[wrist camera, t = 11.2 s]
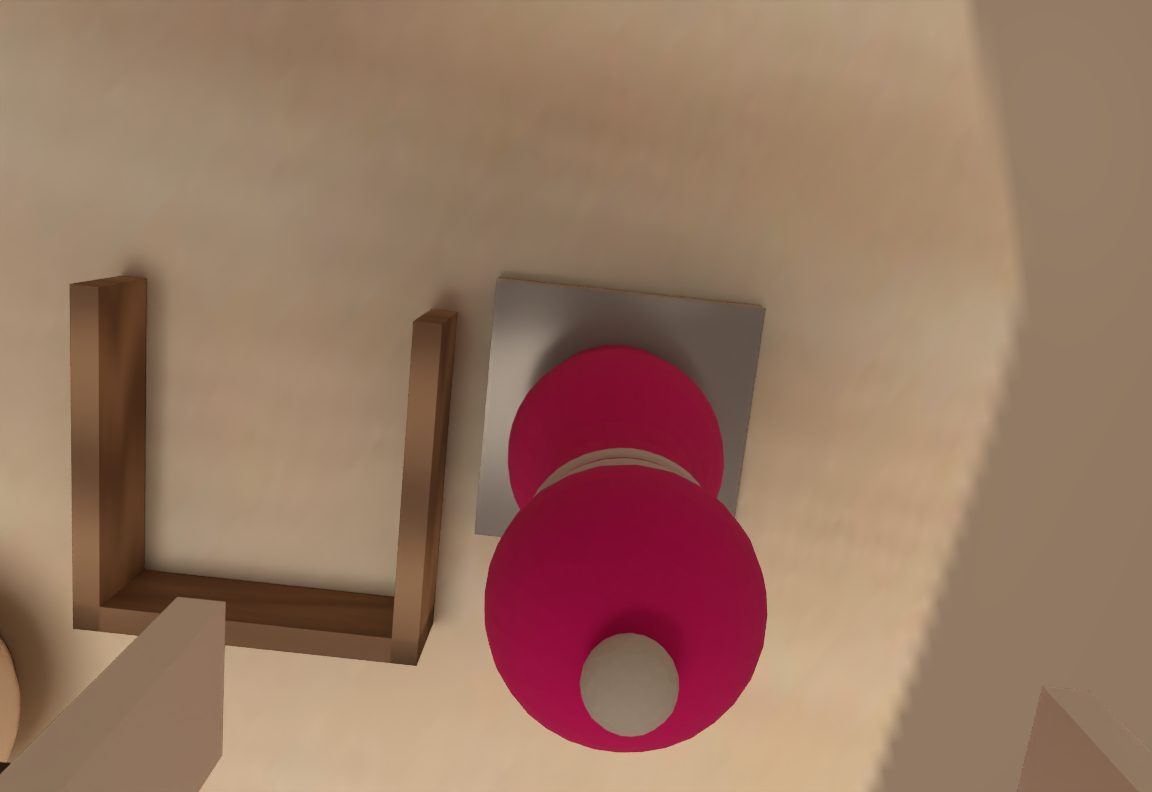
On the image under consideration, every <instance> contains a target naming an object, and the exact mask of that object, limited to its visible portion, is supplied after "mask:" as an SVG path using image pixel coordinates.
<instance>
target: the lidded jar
mask: <svg viewBox="0 0 1152 792" xmlns="http://www.w3.org/2000/svg"><path fill="white" fill-rule="evenodd" d="M19 717H20V691H19V684H18V681H17V677H16V674H15V667H14V663H13V660H12V656H11V654H10V652H9V650H8V648H7V646H6V644H5V643H4V641H3V639H2V638H1V636H0V762H6V763H7V760H8V758H9V756H10V754H11V751H12V748H13V745H14V742H15V739H16V735H17V731H18V727H19Z"/></svg>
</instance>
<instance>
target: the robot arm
mask: <svg viewBox="0 0 1152 792" xmlns="http://www.w3.org/2000/svg"><path fill="white" fill-rule="evenodd" d="M225 607H226V602H223V601H213V600H203V599H194V598H184V597H177V598H176V599H175V600H174V601H173V602H172V603H171V604H170V605H169V606H168V607H167V608H166V609H165V610H164V611H163V612H162V613H161V614H160V615H159V616H158V617H157V618H156V619H155V620H154V621H153V622H152V623H151V624H150V625H149V626H148V627H147V628H146V629H145V630H144V631H143V632H142V633H141V634H140V635H139V636H138V637H137V638H136V639H135V640H134V641H133V642H132V643H131V644H130V645H129V646H128V647H127V648H126V649H125V650H124V651H123V652H122V653H121V654H120V655H119V656H118V657H117V658H116V659H115V660H114V661H113V662H112V663H111V664H110V665H109V666H108V667H107V668H106V669H105V670H104V671H103V672H102V673H101V674H100V675H99V676H98V677H97V678H96V679H95V680H94V681H93V682H92V683H91V684H90V685H89V686H88V687H87V688H86V689H85V690H84V691H83V692H82V693H81V694H80V695H79V696H78V697H77V698H76V699H75V700H74V701H73V702H72V703H71V704H70V705H69V706H68V707H67V708H66V709H65V710H64V711H63V712H62V713H61V714H60V715H59V716H58V717H57V718H56V719H55V720H54V721H53V722H52V723H51V724H50V725H49V726H48V727H47V728H46V729H45V730H44V731H43V732H42V733H41V734H40V735H39V736H38V737H37V738H36V739H35V740H34V741H33V742H32V743H31V744H30V745H29V746H28V747H27V748H26V749H25V750H24V751H23V752H22V753H21V754H20V755H19V756H18V757H17V758H16V759H15V760H14V761H13V762H12V763H6V762H0V792H199V790H200V789H201V787H202V786H203V784H204V783H205V781H206V779H207V778H208V776H209V775H210V773H211V772H212V770H213V769H214V767H215V765H216V764H217V762H218V761H219V759H220V758H221V756H222V741H223V696H224V652H225ZM1017 792H1152V753H1151V752H1150V751H1149V750H1148V749H1147V748H1146V747H1145V746H1144V745H1143V744H1142V743H1141V742H1140V741H1139V740H1138V739H1137V738H1136V737H1135V736H1134V735H1133V734H1132V733H1131V732H1130V731H1129V730H1128V729H1127V728H1126V727H1125V726H1124V725H1123V724H1122V723H1121V722H1120V721H1119V720H1118V719H1117V718H1116V717H1115V716H1114V715H1113V713H1111V711H1109V709H1108V708H1107V707H1106V706H1105V705H1104V704H1103V703H1102V702H1101V701H1100V700H1098V698H1097V697H1096V696H1095V695H1094V694H1093V693H1092V692H1091V691H1089V690H1081V689H1070V688H1060V687H1051V686H1042V689H1041V693H1040V698H1039V702H1038V706H1037V710H1036V714H1035V718H1034V723H1033V727H1032V731H1031V735H1030V740H1029V743H1028V748H1027V752H1026V756H1025V760H1024V764H1023V768H1022V773H1021V777H1020V781H1019V785H1018V789H1017Z"/></svg>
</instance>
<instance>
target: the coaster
mask: <svg viewBox="0 0 1152 792" xmlns="http://www.w3.org/2000/svg"><path fill="white" fill-rule="evenodd" d="M764 316H765V308H764V307H762V306H761V305H751V304H742V303H733V302H724V301H714V300H705V299H696V298H687V297H677V296H668V295H659V294H649V293H640V292H631V291H622V290H612V289H603V288H594V287H585V286H575V285H566V284H557V283H547V282H538V281H529V280H520V279H510V278H501V277H499V278H498V279H497V282H496V293H495V305H494V316H493V328H492V339H491V351H490V362H489V374H488V385H487V397H486V408H485V420H484V431H483V443H482V454H481V466H480V477H479V489H478V500H477V512H476V523H475V534H479V535H488V536H497V537H502V536H503V534H504V532H505V530H506V529H507V527H508V526H509V524H510V523H511V521H512V520H513V519H514V517H515V516H516V514H517V513H518V512H519V511H520V509H519V507H518V505H517V502H516V500H515V498H514V495H513V491H512V488H511V485H510V479H509V470H508V444H509V437H510V432H511V427H512V423H513V421H514V418H515V416H516V413H517V410H518V408H519V407H520V405H521V403H522V402H523V400H524V398H525V397H526V395H527V393H528V392H529V391H530V390H531V389H532V388H533V386H534V385H535V384H536V383H537V382H538V381H539V380H540V379H541V378H542V377H543V376H544V375H545V374H547V373H548V372H549V371H551V370H552V369H553V368H555V367H556V366H557V365H559V364H561V363H562V362H564V361H565V360H566V359H568V358H569V357H571V356H573V355H575V354H577V353H579V352H581V351H584V350H587V349H590V348H594V347H597V346H605V345H624V346H631V347H634V348H638V349H641V350H644V351H646V352H649V353H651V354H653V355H655V356H656V357H658V358H660V359H663V360H665V361H666V362H668V363H670V364H671V365H673V366H675V367H677V368H678V369H680V370H681V371H682V372H683V373H684V374H686V375H687V376H688V377H689V378H691V379H692V380H693V382H694V383H695V384H696V385H697V386H698V387H699V388H700V389H701V391H702V392H703V393H704V395H705V397H706V398H707V400H708V401H709V403H710V404H711V406H712V409H713V411H714V413H715V415H716V418H717V420H718V424H719V428H720V433H721V437H722V442H723V454H724V471H723V477H722V484H721V488H720V491H719V494H718V497H717V499H718V500H719V501H720V502H721V503H723V504H724V505H725V507H726V508H727V509H728V510H729V512H730V513H731V514H732V515H733V517H734V518H735V511H736V504H737V498H738V491H739V484H740V477H741V471H742V464H743V457H744V451H745V444H746V437H747V430H748V424H749V417H750V410H751V404H752V397H753V390H754V383H755V377H756V370H757V363H758V357H759V350H760V343H761V336H762V330H763V323H764Z"/></svg>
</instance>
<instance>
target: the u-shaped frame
mask: <svg viewBox="0 0 1152 792" xmlns="http://www.w3.org/2000/svg"><path fill="white" fill-rule="evenodd" d="M456 321H457V312H451V311H442V310H432V309H431V310H430V311H428V312H427V313H425V314H424V315H422V316H421V317H419V318H418V319H416V320H415V321H413V336H412V350H411V365H410V380H409V394H408V409H407V423H406V438H405V452H404V467H403V482H402V496H401V511H400V525H399V540H398V554H397V569H396V584H395V597H387V596H378V595H369V594H359V593H350V592H341V591H332V590H323V589H313V588H304V587H295V586H286V585H276V584H267V583H258V582H249V581H239V580H230V579H221V578H212V577H202V576H193V575H184V574H175V573H166V572H156V571H147V570H144V546H145V409H146V279H145V278H136V277H126V276H117V277H111V278H104V279H98V280H92V281H86V282H80V283H74V284H70V365H71V465H72V564H73V629H81V630H90V631H100V632H109V633H118V634H127V635H137V636H139V635H140V634H141V633H142V632H143V631H144V630H145V629H146V628H147V627H148V626H149V625H150V624H151V623H152V622H153V621H154V620H155V619H156V618H157V617H158V616H159V615H160V614H161V613H162V612H163V611H164V610H165V609H166V608H167V607H168V606H169V605H170V604H171V603H172V602H173V601H174V600H175V599H176V598H177V597H184V598H194V599H203V600H213V601H223V602H226V607H225V645H229V646H238V647H247V648H257V649H266V650H275V651H284V652H294V653H303V654H312V655H321V656H330V657H340V658H349V659H358V660H367V661H377V662H386V663H395V664H404V665H414V666H417V663H418V661H419V658H420V655H421V653H422V650H423V648H424V645H425V643H426V640H427V637H428V635H429V632H430V630H431V627H432V625H433V614H434V602H435V589H436V576H437V563H438V551H439V538H440V525H441V512H442V500H443V487H444V474H445V461H446V449H447V436H448V423H449V411H450V398H451V385H452V372H453V360H454V347H455V334H456Z"/></svg>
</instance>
